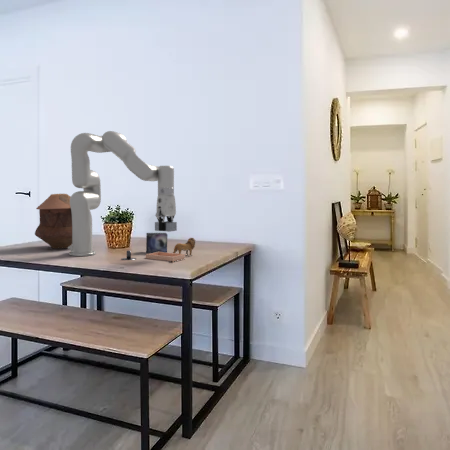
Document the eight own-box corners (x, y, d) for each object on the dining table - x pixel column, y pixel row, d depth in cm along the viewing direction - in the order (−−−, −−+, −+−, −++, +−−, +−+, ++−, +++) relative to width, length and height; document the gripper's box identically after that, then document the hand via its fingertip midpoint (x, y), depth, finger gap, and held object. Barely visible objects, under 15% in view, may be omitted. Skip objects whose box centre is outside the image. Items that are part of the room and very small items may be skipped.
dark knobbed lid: (117, 260, 188) (117, 251, 188) (127, 258, 195) (127, 249, 194) (129, 261, 185) (129, 252, 185) (139, 259, 192) (139, 250, 191)
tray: (145, 259, 193) (145, 254, 193) (158, 256, 202) (158, 251, 202) (172, 262, 186) (173, 257, 186) (184, 259, 196) (184, 254, 195)
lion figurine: (190, 254, 212) (190, 236, 212) (197, 255, 209) (198, 237, 208) (169, 257, 201) (169, 239, 201) (176, 258, 198) (176, 240, 197)
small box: (146, 254, 209) (146, 234, 208) (145, 252, 215) (145, 232, 214) (167, 253, 212) (167, 233, 211) (165, 251, 218) (166, 232, 217)
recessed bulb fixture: (170, 231, 189) (170, 223, 188) (154, 230, 192) (154, 222, 192) (176, 230, 194) (176, 222, 193) (161, 229, 197) (161, 221, 197)
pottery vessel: (93, 245, 237) (92, 193, 234) (72, 251, 212) (71, 194, 209) (50, 244, 239) (50, 193, 237) (25, 250, 214) (24, 193, 212)
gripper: (161, 192, 182) (161, 232, 184) (182, 192, 198) (182, 229, 199) (148, 191, 185) (148, 231, 187) (169, 192, 201) (169, 228, 202)
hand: (165, 229), depth 193 cm, fingers closed on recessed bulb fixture, 5 cm apart
